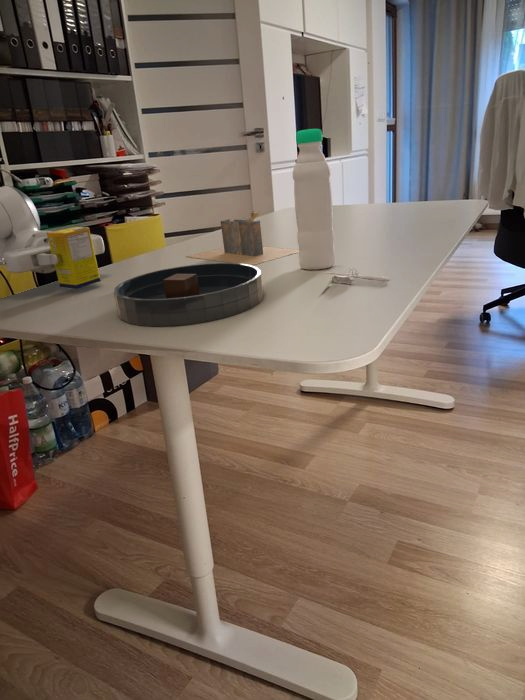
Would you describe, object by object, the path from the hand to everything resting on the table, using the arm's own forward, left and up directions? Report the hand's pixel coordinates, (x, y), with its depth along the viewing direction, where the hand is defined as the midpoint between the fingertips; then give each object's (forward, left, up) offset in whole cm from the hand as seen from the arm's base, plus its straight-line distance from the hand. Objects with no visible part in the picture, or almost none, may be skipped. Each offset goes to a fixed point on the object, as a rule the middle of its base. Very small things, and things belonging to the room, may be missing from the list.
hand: (76, 255), depth 102 cm
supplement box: (0, +1, -6) cm, 6 cm away
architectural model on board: (+37, -10, -7) cm, 39 cm away
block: (+1, -30, -6) cm, 30 cm away
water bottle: (+30, -36, -7) cm, 48 cm away
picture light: (+22, -48, -7) cm, 53 cm away
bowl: (0, -32, -7) cm, 33 cm away
